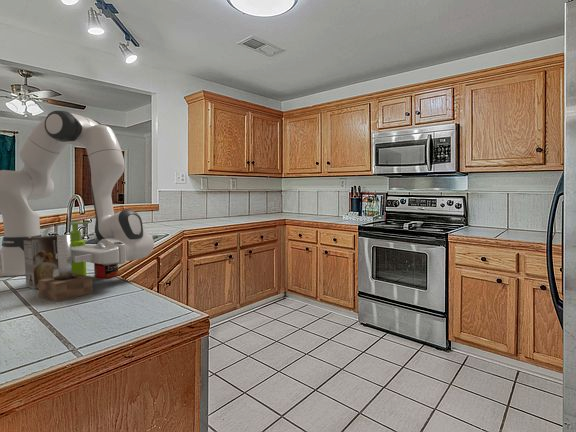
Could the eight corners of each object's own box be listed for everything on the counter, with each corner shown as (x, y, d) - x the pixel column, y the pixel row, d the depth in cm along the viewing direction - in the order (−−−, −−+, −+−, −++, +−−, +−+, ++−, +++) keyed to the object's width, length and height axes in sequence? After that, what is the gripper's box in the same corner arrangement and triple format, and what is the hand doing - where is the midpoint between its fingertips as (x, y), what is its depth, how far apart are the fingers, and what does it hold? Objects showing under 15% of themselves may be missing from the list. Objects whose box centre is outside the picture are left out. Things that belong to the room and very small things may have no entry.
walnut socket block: (39, 296, 102) (38, 279, 101) (73, 288, 110) (73, 273, 110) (57, 301, 97) (56, 284, 96) (92, 292, 105) (91, 276, 105)
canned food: (108, 279, 122) (107, 248, 121) (89, 278, 123) (88, 248, 123) (123, 274, 129) (122, 245, 128) (104, 273, 131) (103, 245, 130)
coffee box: (56, 280, 120) (54, 235, 119) (65, 283, 117) (63, 236, 116) (25, 286, 113) (22, 237, 112) (34, 289, 109) (31, 239, 108)
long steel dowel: (57, 295, 103) (54, 235, 102) (69, 292, 106) (66, 234, 105) (63, 297, 101) (60, 236, 100) (75, 294, 104) (73, 234, 103)
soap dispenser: (91, 276, 127) (89, 222, 126) (70, 279, 122) (68, 223, 120) (86, 273, 131) (84, 221, 130) (65, 277, 126) (63, 222, 124)
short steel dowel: (50, 287, 112) (49, 268, 112) (61, 284, 115) (60, 266, 115) (55, 288, 110) (55, 270, 110) (67, 286, 113) (66, 268, 113)
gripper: (90, 240, 120) (46, 245, 108) (128, 244, 110) (84, 250, 98) (90, 258, 120) (47, 265, 108) (128, 263, 110) (85, 272, 98)
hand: (65, 258), depth 103 cm, fingers open, 8 cm apart
